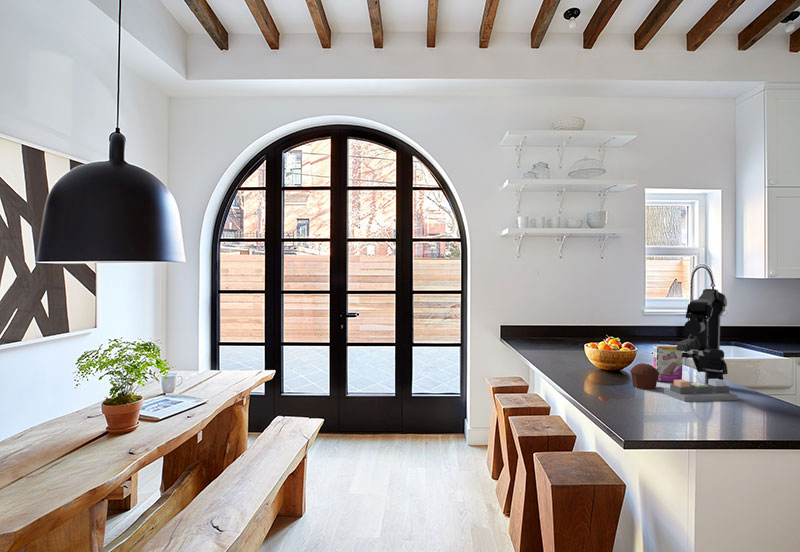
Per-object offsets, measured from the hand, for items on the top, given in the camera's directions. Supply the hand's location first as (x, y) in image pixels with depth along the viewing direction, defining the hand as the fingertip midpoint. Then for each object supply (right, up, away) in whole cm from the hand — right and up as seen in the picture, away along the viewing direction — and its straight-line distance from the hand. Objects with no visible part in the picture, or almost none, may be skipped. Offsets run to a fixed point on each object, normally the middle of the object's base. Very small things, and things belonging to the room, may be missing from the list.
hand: (699, 371), depth 185 cm
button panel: (0, -10, 0) cm, 10 cm away
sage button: (0, -8, 0) cm, 8 cm away
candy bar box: (+3, -10, +28) cm, 29 cm away
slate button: (+7, -6, +1) cm, 10 cm away
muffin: (-14, -10, +16) cm, 23 cm away
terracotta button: (-7, -6, -1) cm, 10 cm away
